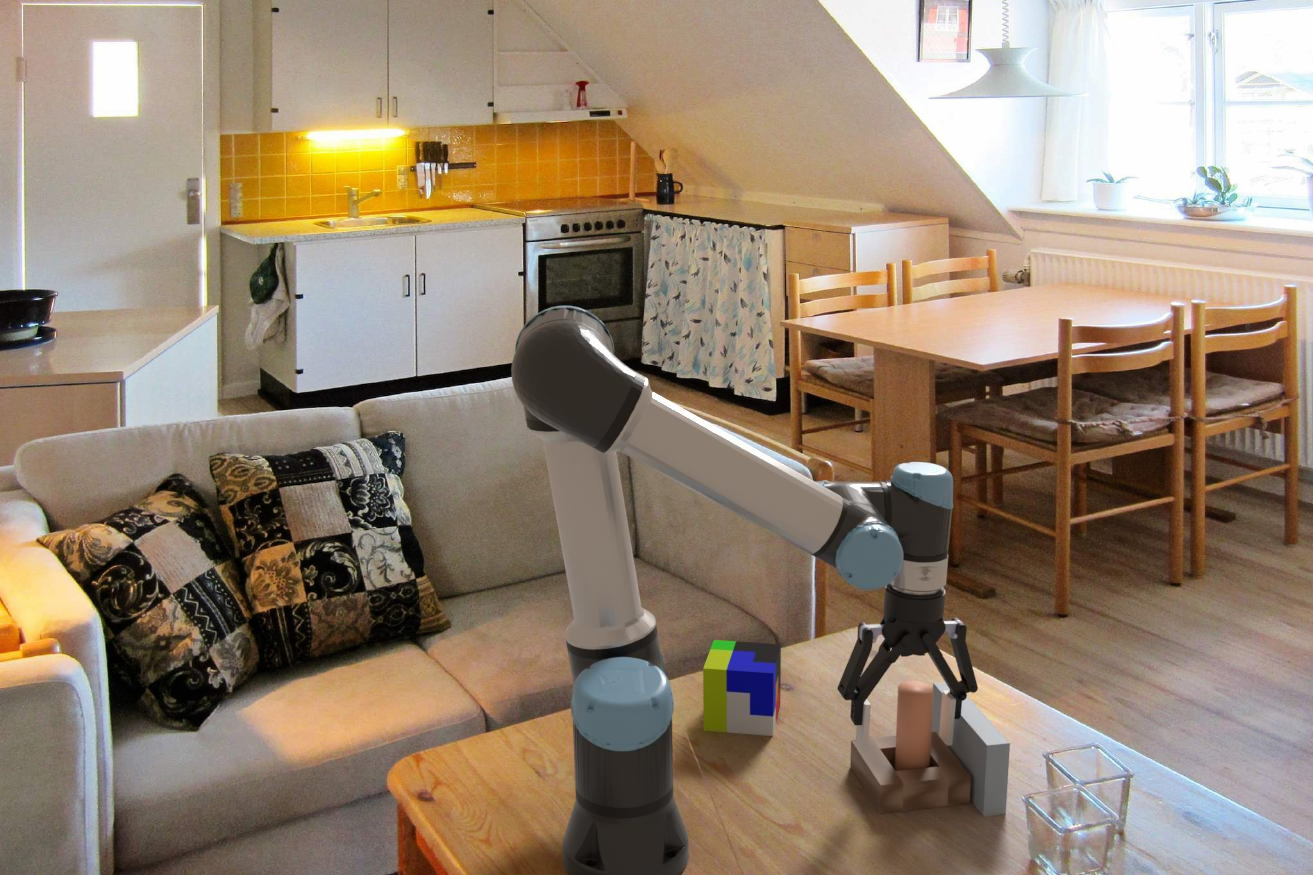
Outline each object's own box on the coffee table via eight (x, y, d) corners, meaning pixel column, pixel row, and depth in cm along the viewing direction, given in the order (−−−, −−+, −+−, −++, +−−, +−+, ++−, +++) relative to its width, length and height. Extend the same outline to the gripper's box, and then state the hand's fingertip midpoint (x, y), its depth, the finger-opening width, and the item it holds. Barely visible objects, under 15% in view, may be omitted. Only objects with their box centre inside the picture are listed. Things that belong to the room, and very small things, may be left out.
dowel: (901, 796, 167) (905, 697, 164) (889, 778, 172) (893, 682, 168) (934, 792, 168) (938, 694, 165) (921, 775, 172) (925, 679, 169)
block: (879, 813, 163) (880, 785, 162) (850, 766, 175) (851, 740, 174) (969, 803, 165) (971, 775, 164) (934, 758, 176) (935, 731, 175)
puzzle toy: (773, 737, 183) (773, 673, 181) (703, 732, 185) (703, 668, 183) (780, 705, 193) (780, 644, 190) (714, 701, 195) (713, 639, 192)
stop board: (983, 817, 162) (987, 745, 160) (930, 748, 179) (933, 682, 177) (1005, 814, 163) (1010, 743, 160) (950, 746, 180) (953, 680, 177)
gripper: (835, 599, 157) (826, 763, 163) (1014, 591, 161) (999, 751, 166) (818, 578, 164) (809, 735, 170) (989, 570, 168) (976, 724, 174)
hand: (903, 743), depth 168 cm, fingers open, 11 cm apart
